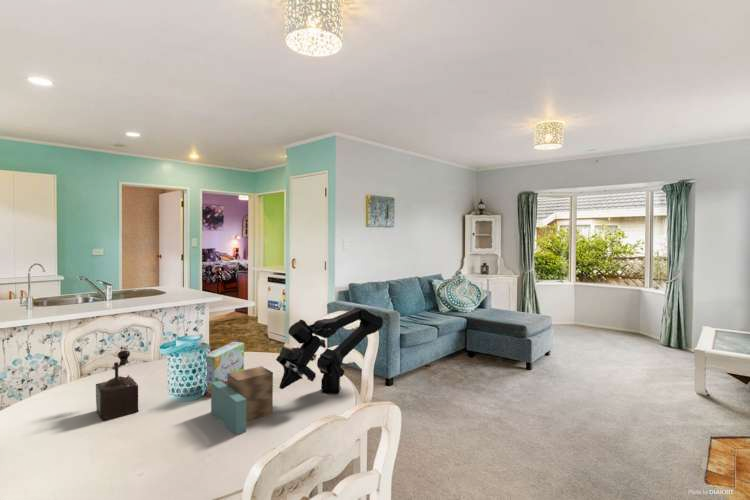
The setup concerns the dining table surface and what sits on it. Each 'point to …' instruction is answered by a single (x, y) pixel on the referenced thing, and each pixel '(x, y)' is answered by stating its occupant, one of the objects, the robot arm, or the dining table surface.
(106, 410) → the pepper mill
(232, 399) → the teal board
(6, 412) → the dining table surface
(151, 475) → the dining table surface
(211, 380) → the snack box
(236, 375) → the walnut block
